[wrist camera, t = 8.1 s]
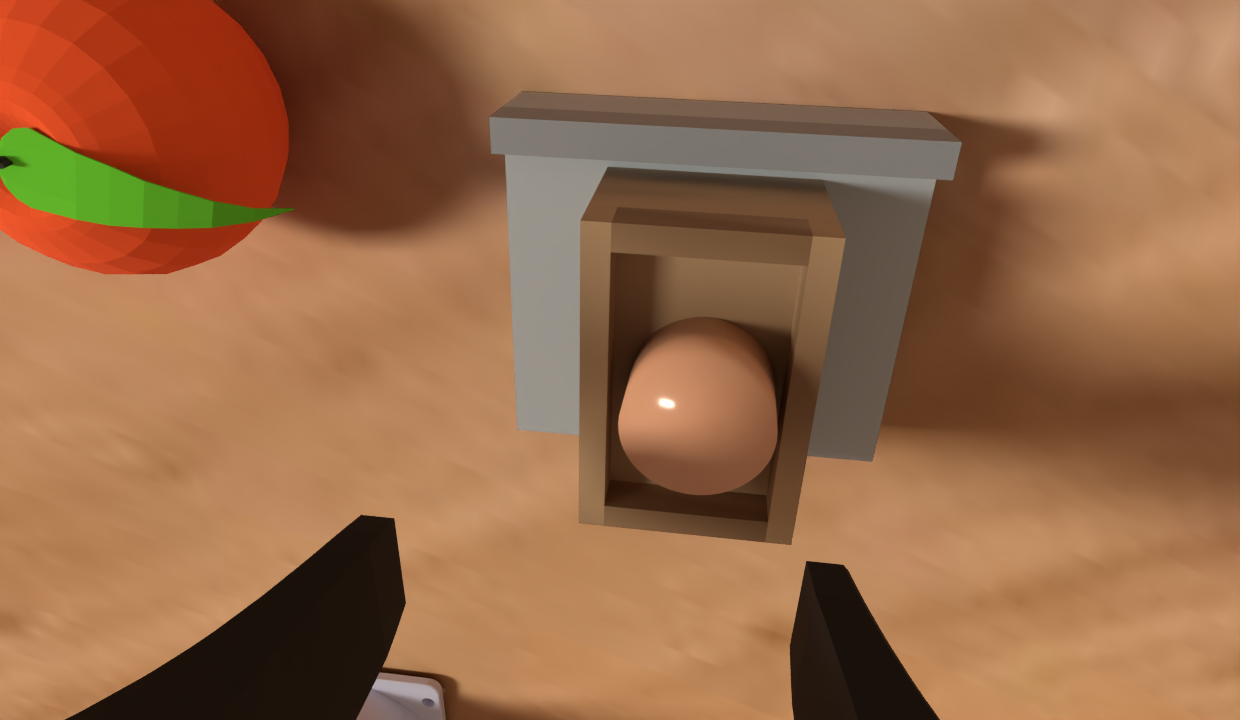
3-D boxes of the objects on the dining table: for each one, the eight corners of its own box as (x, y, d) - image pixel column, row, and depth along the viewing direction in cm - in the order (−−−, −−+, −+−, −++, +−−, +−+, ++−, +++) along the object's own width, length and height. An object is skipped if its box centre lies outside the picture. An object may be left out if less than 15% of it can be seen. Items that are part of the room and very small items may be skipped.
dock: (861, 421, 23) (880, 488, 20) (532, 393, 24) (507, 453, 21) (927, 111, 19) (962, 142, 16) (522, 91, 20) (488, 117, 17)
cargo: (755, 453, 18) (756, 509, 16) (621, 425, 18) (607, 476, 17) (791, 334, 17) (796, 382, 15) (644, 303, 17) (631, 346, 15)
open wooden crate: (780, 446, 22) (791, 544, 18) (602, 430, 22) (578, 523, 19) (822, 179, 18) (845, 238, 14) (608, 166, 18) (579, 220, 15)
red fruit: (398, 27, 19) (244, 71, 13) (353, 268, 23) (214, 392, 17) (85, -94, 19) (-228, -109, 13) (87, 170, 22) (-160, 260, 16)
